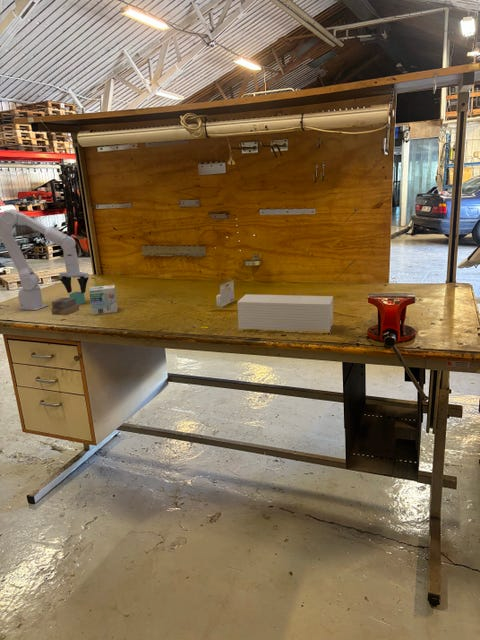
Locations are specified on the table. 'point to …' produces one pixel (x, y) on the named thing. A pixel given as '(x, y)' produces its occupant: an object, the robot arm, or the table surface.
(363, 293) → the table surface
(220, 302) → the ink cartridge box
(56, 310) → the bottom slab
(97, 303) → the light bulb box
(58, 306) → the top slab
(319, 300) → the stack of papers
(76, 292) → the teal block
